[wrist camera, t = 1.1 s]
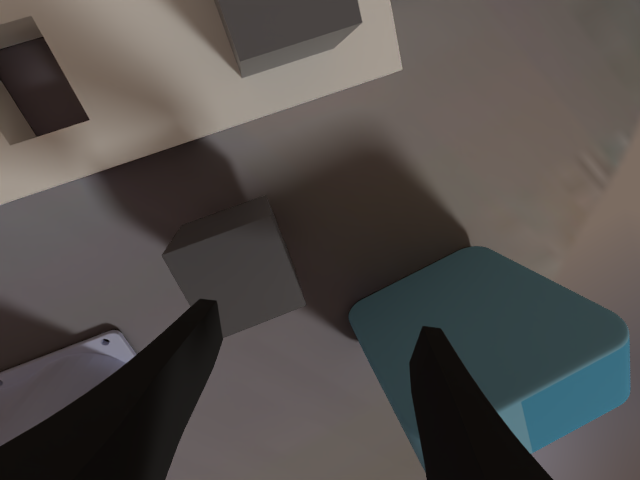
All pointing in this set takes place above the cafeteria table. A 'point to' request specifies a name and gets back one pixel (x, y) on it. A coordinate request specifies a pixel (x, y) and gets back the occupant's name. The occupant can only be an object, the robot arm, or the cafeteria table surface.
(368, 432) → the cafeteria table surface
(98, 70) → the power strip
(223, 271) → the matte gray cuboid
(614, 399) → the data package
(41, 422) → the robot arm
